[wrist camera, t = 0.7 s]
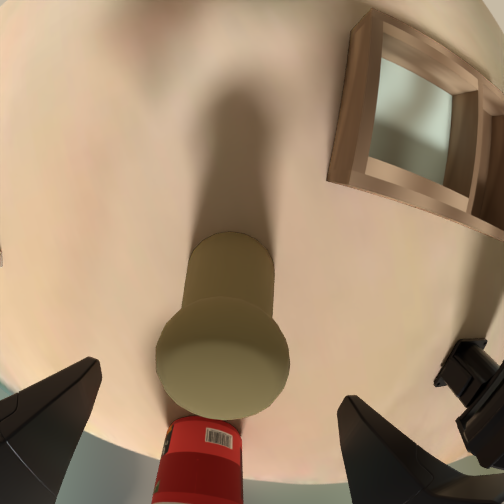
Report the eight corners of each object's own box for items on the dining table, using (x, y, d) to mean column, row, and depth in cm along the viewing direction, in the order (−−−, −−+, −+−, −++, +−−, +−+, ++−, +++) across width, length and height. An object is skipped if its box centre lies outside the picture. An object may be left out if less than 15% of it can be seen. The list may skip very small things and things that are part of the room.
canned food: (157, 414, 23) (134, 502, 13) (233, 410, 23) (232, 510, 13) (182, 451, 25) (171, 526, 15) (248, 448, 25) (251, 529, 15)
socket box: (492, 113, 15) (520, 111, 11) (476, 231, 19) (506, 242, 15) (350, 31, 14) (372, 7, 10) (326, 180, 17) (348, 184, 13)
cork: (184, 232, 18) (115, 314, 7) (275, 231, 18) (319, 317, 8) (190, 312, 20) (154, 433, 9) (273, 312, 20) (298, 436, 9)
